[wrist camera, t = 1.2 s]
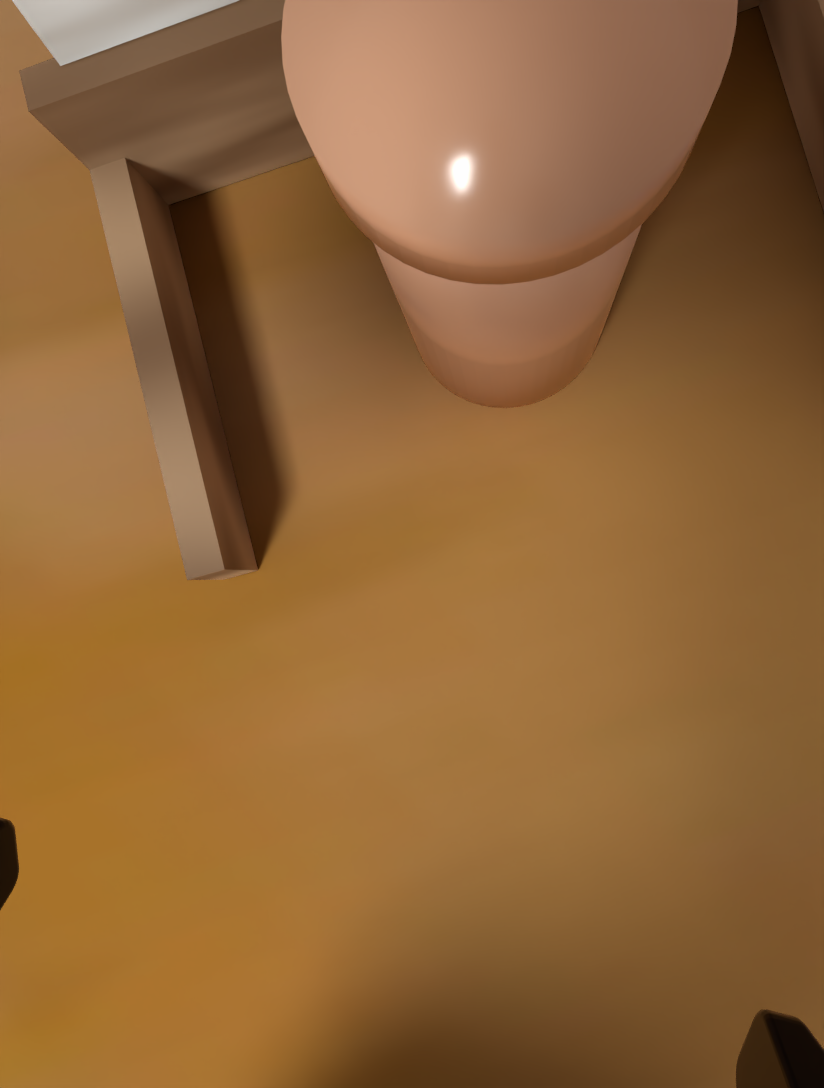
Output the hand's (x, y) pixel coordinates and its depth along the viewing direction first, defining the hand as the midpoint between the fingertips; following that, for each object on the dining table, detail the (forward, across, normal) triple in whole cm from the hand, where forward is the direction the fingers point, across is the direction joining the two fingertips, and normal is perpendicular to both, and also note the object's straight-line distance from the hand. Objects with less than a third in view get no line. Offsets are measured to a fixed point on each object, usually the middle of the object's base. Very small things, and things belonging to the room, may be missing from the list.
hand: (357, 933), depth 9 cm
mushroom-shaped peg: (+15, 0, -6) cm, 16 cm away
